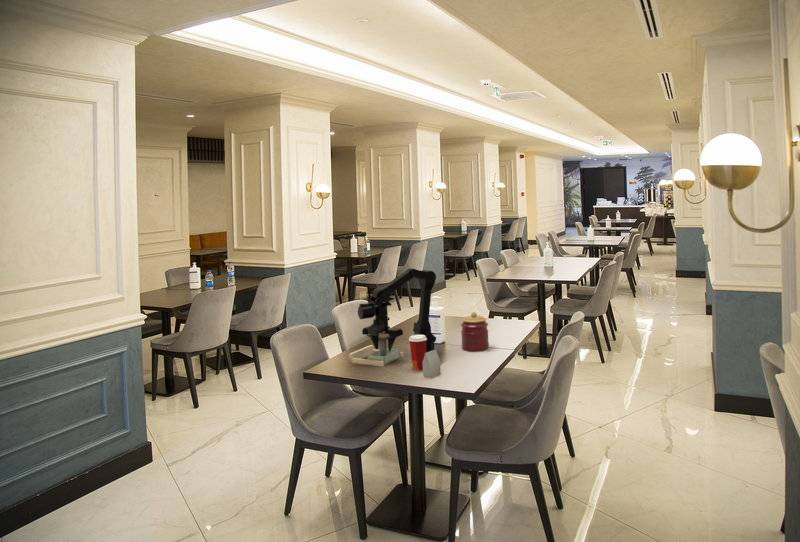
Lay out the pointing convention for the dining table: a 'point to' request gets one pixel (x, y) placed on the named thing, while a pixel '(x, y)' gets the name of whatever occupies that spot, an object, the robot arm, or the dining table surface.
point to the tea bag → (431, 364)
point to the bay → (359, 354)
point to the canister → (474, 333)
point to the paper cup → (418, 350)
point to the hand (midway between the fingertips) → (383, 350)
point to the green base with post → (384, 353)
